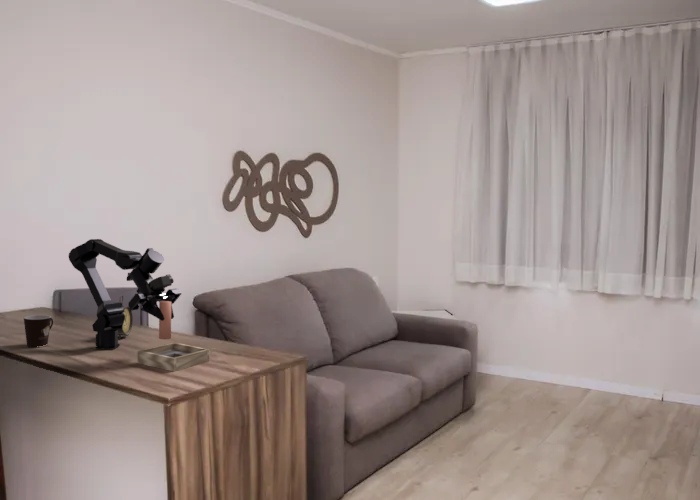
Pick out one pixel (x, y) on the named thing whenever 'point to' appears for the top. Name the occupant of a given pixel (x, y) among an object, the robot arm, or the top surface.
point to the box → (173, 356)
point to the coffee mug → (37, 329)
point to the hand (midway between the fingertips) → (168, 318)
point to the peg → (165, 320)
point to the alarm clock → (126, 321)
